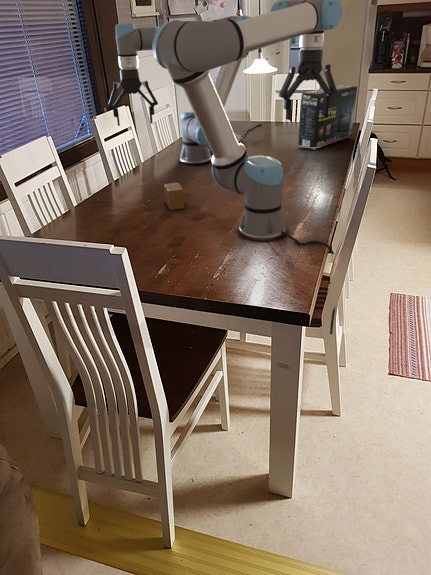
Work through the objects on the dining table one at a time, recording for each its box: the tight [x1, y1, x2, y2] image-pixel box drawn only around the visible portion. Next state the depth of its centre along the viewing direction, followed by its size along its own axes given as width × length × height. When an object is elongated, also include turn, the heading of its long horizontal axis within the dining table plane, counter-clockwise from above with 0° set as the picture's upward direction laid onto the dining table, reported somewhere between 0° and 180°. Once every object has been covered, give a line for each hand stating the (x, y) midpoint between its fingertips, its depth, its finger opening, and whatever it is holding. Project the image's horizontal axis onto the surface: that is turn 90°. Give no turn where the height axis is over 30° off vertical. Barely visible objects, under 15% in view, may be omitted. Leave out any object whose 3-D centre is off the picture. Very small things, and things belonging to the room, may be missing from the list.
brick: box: [163, 182, 185, 211], centre depth 172 cm, size 8×6×7 cm, turn 15°
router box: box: [297, 84, 358, 151], centre depth 238 cm, size 36×11×27 cm, turn 134°
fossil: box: [232, 129, 246, 143], centre depth 251 cm, size 18×11×15 cm
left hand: (135, 124), depth 192 cm, fingers open, 13 cm apart
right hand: (306, 117), depth 159 cm, fingers open, 13 cm apart
